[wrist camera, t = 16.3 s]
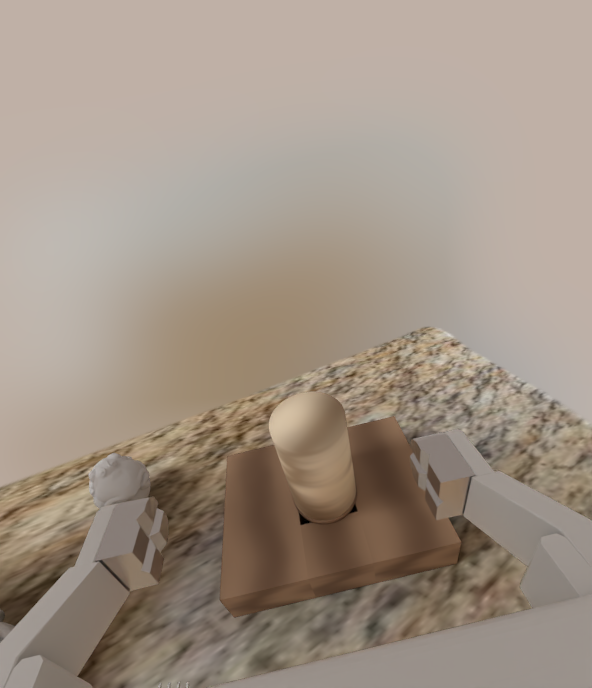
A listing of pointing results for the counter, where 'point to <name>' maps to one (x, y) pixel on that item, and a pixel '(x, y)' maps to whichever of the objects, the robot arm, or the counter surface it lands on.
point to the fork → (177, 685)
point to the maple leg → (315, 455)
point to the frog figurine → (118, 480)
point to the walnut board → (327, 527)
